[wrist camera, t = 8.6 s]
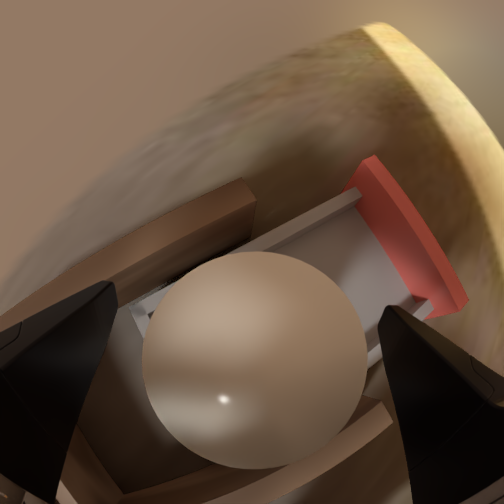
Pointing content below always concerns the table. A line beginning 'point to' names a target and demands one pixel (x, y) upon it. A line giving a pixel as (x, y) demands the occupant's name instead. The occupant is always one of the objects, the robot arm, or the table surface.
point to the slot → (146, 279)
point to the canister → (254, 360)
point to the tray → (362, 254)
